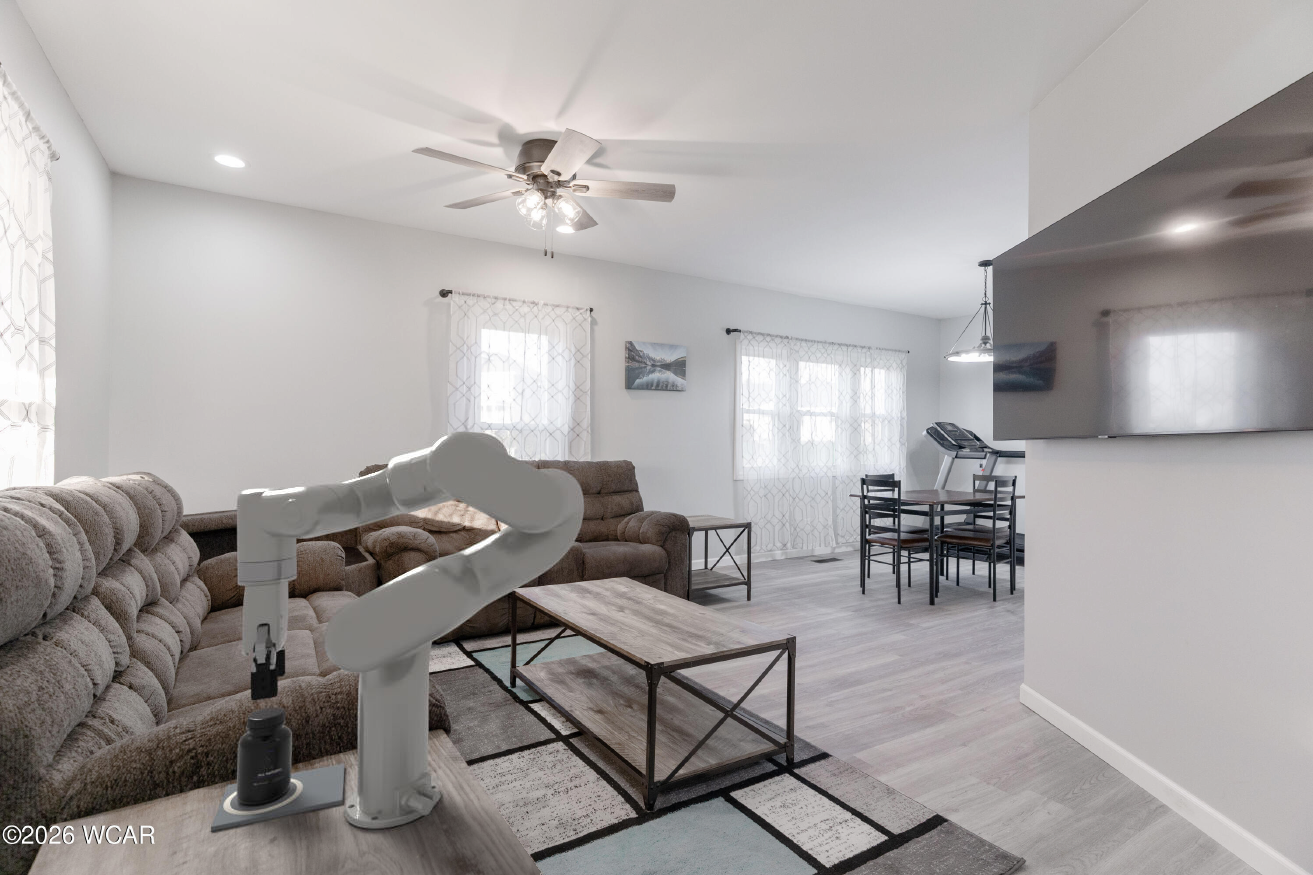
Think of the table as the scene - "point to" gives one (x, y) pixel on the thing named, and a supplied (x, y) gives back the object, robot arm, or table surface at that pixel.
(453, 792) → the table surface
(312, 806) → the mat
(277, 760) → the supplement bottle
